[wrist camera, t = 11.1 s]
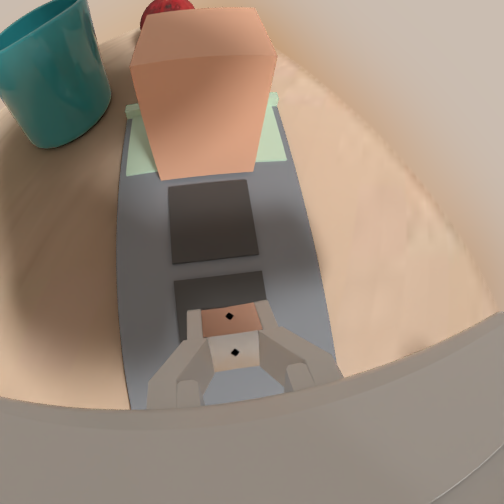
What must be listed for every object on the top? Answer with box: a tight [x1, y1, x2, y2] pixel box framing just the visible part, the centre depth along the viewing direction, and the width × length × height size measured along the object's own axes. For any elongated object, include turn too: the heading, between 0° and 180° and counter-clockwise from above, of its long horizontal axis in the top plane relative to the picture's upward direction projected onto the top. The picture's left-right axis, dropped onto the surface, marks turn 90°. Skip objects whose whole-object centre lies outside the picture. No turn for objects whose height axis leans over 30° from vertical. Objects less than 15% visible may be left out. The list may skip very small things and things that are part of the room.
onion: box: [140, 0, 195, 30], centre depth 20 cm, size 6×6×8 cm
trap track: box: [116, 92, 337, 410], centre depth 16 cm, size 12×26×2 cm, turn 9°
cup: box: [0, 0, 112, 149], centre depth 15 cm, size 9×12×11 cm
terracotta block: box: [130, 7, 277, 181], centre depth 14 cm, size 6×6×9 cm
